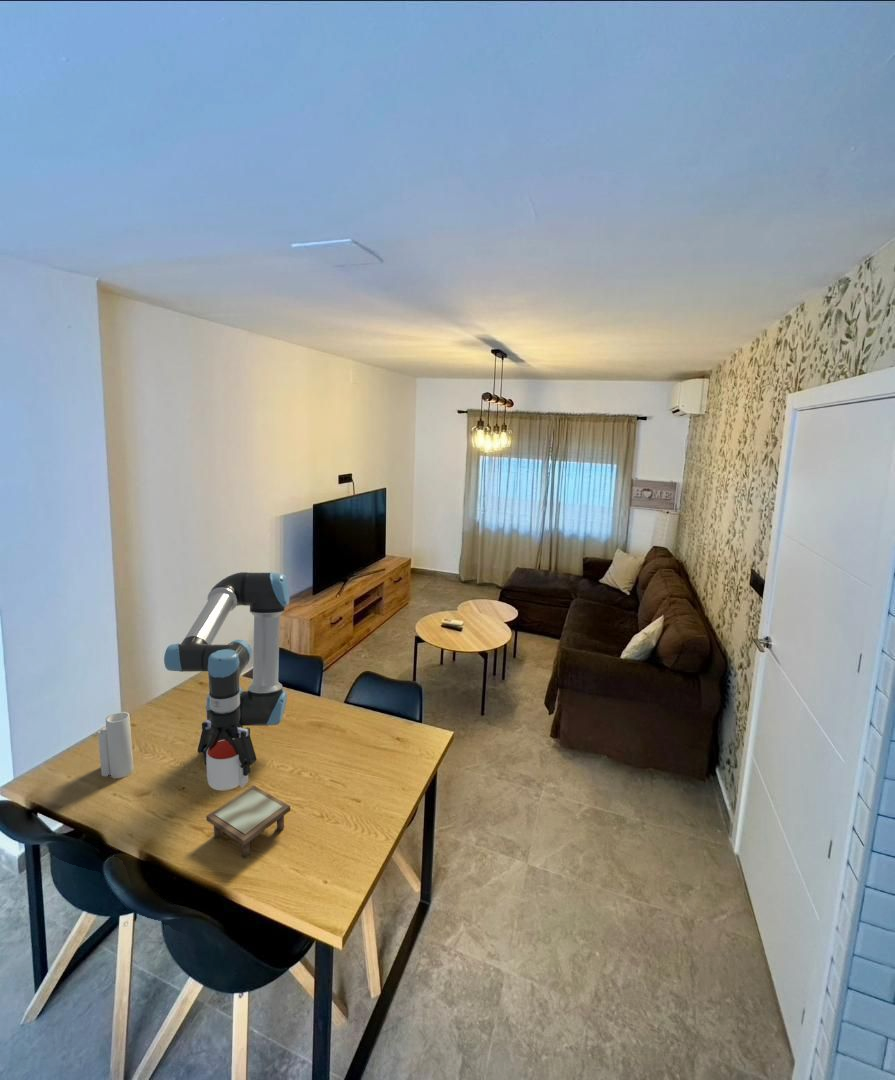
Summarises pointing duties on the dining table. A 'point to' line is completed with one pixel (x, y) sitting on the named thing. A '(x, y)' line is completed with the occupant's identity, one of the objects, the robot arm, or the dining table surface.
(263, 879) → the dining table surface
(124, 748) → the vase
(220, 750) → the cup
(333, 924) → the dining table surface
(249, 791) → the footstool
